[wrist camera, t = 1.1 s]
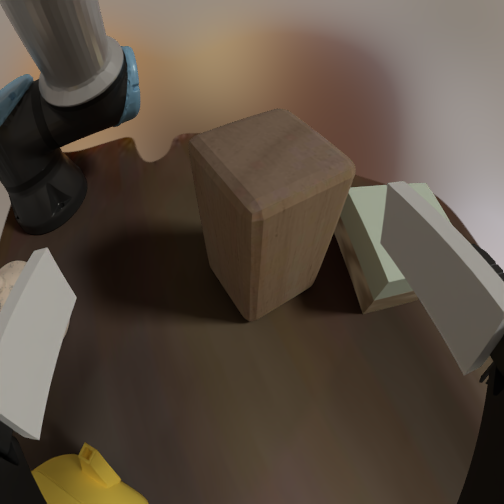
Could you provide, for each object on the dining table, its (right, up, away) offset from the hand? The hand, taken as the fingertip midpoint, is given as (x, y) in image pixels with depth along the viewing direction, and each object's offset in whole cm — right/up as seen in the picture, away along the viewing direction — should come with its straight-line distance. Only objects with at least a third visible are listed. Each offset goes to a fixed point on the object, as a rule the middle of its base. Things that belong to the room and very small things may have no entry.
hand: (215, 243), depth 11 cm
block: (+2, -3, +28) cm, 28 cm away
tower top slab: (+20, +1, +26) cm, 33 cm away
